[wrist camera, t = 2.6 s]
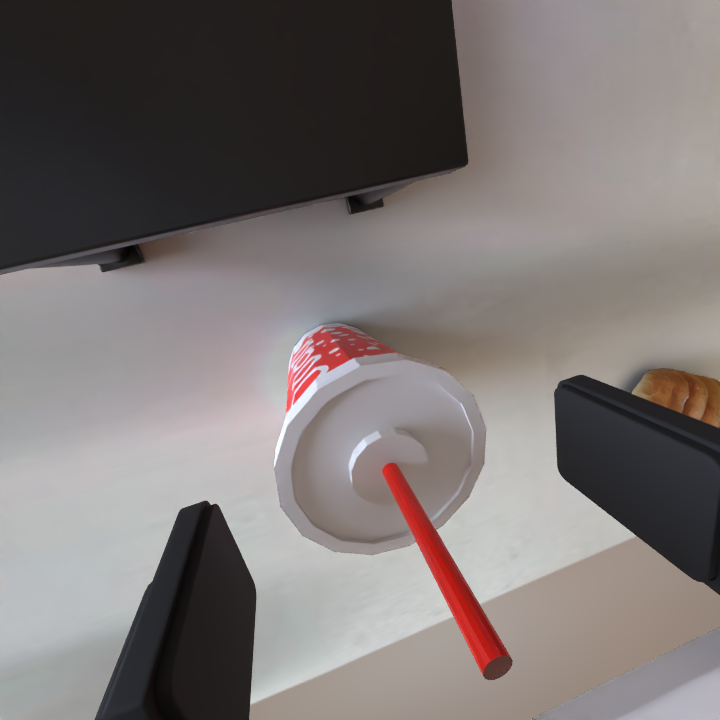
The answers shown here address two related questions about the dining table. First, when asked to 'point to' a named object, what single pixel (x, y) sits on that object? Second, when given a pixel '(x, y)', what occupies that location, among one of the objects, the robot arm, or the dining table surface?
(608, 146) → the dining table surface
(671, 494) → the robot arm
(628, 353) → the dining table surface
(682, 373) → the pastry
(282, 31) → the black side table
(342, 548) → the beverage cup
